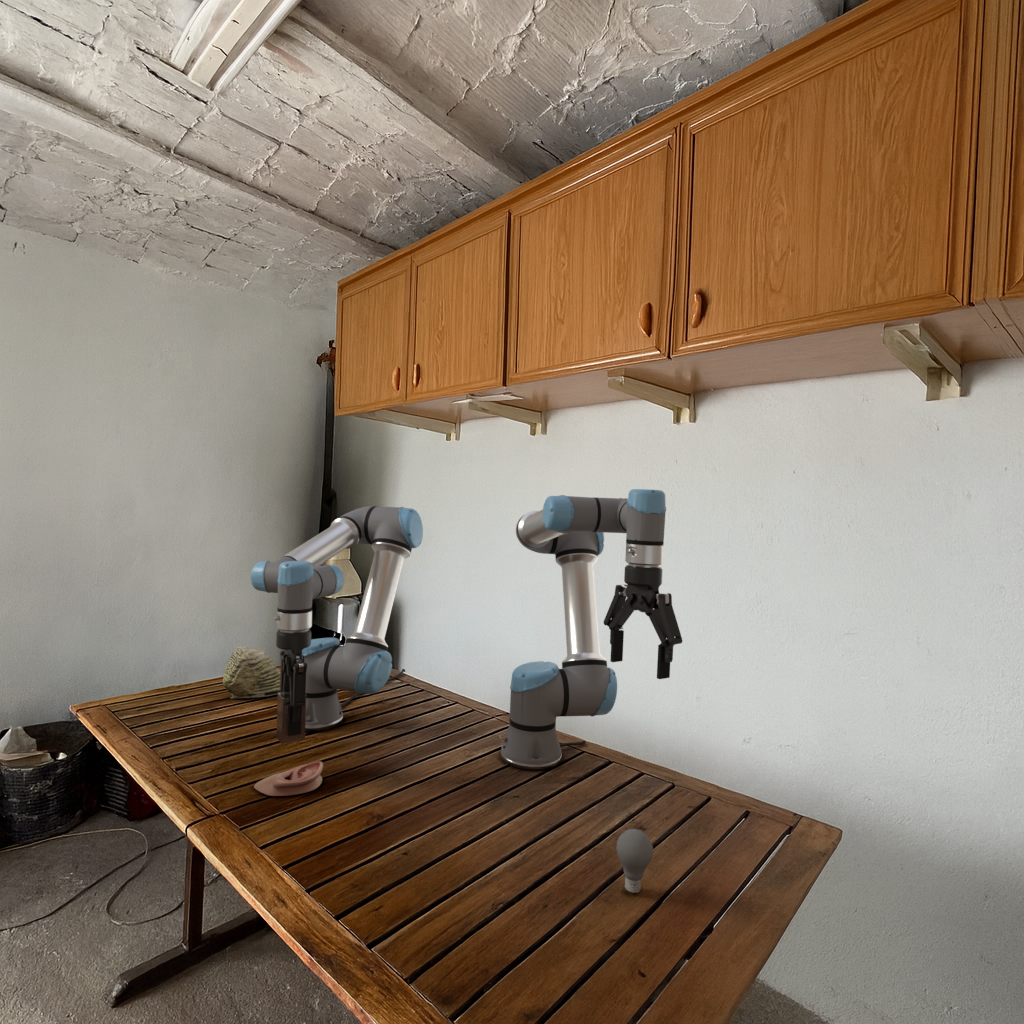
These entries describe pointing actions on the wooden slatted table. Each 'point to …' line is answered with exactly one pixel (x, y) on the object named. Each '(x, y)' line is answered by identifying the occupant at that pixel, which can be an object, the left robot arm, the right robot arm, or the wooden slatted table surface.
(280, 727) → the block
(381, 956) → the wooden slatted table surface
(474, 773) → the wooden slatted table surface
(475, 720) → the wooden slatted table surface
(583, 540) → the right robot arm
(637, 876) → the light bulb
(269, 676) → the fossil
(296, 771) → the anatomical model
